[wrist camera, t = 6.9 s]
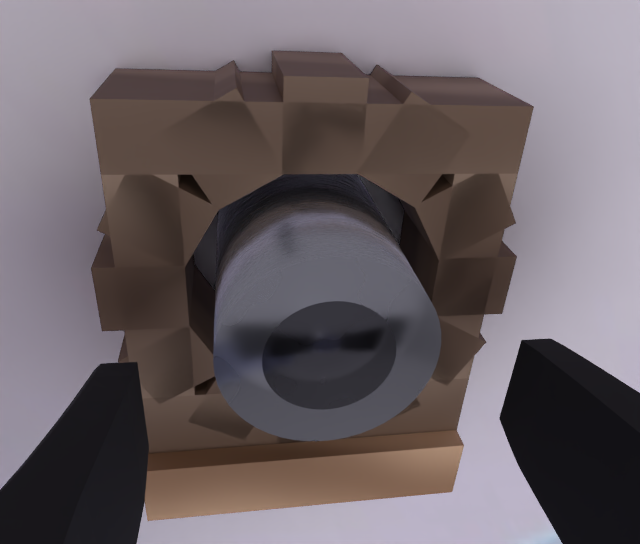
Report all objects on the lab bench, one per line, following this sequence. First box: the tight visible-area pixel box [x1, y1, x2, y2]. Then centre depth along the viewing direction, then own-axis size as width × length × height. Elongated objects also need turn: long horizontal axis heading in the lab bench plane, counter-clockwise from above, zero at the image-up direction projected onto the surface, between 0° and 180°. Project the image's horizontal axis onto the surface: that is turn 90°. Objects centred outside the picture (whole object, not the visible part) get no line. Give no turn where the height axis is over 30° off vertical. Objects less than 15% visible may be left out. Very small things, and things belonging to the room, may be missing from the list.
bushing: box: [213, 174, 441, 441], centre depth 13 cm, size 4×4×6 cm
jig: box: [90, 51, 534, 521], centre depth 15 cm, size 12×10×4 cm
